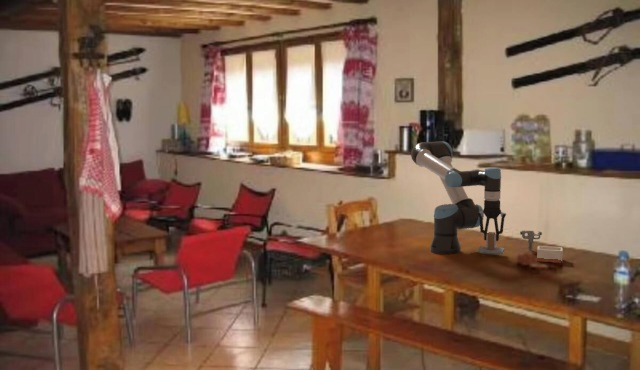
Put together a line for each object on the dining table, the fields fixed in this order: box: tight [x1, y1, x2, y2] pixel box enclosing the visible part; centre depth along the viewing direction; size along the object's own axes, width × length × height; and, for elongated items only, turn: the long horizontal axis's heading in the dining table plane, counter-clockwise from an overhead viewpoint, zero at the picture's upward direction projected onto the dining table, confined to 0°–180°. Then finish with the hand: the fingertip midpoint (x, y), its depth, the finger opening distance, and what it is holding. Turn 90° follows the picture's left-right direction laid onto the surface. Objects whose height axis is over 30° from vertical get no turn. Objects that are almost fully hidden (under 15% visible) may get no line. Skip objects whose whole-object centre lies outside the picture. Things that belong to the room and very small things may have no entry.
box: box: [536, 245, 564, 262], centre depth 302 cm, size 11×8×6 cm
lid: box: [477, 231, 505, 256], centre depth 313 cm, size 12×9×10 cm
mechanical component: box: [519, 230, 543, 252], centre depth 323 cm, size 3×10×10 cm, turn 78°
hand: (491, 247), depth 313 cm, fingers closed on lid, 3 cm apart
